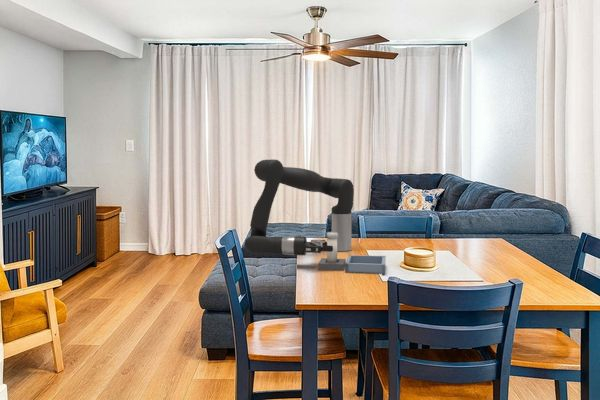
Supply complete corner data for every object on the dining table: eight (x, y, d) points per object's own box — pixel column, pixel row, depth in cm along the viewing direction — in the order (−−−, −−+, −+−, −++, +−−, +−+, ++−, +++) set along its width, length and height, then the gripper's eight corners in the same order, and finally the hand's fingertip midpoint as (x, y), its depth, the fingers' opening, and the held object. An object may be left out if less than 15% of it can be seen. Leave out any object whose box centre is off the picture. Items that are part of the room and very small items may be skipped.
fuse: (327, 265, 233) (327, 231, 231) (338, 266, 232) (338, 232, 230) (326, 268, 229) (326, 233, 227) (337, 268, 228) (337, 234, 226)
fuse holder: (321, 265, 236) (321, 258, 236) (345, 266, 234) (345, 258, 234) (318, 271, 226) (318, 263, 226) (343, 271, 225) (343, 264, 224)
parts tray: (348, 264, 237) (348, 254, 237) (385, 265, 235) (385, 255, 234) (345, 273, 222) (345, 263, 221) (384, 275, 219) (384, 264, 219)
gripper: (290, 239, 225) (332, 240, 222) (297, 233, 239) (336, 234, 236) (291, 258, 225) (332, 259, 223) (297, 251, 239) (336, 252, 237)
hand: (334, 246), depth 229 cm, fingers open, 8 cm apart
